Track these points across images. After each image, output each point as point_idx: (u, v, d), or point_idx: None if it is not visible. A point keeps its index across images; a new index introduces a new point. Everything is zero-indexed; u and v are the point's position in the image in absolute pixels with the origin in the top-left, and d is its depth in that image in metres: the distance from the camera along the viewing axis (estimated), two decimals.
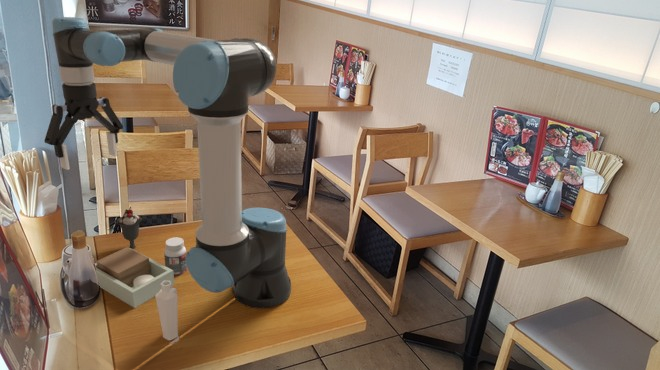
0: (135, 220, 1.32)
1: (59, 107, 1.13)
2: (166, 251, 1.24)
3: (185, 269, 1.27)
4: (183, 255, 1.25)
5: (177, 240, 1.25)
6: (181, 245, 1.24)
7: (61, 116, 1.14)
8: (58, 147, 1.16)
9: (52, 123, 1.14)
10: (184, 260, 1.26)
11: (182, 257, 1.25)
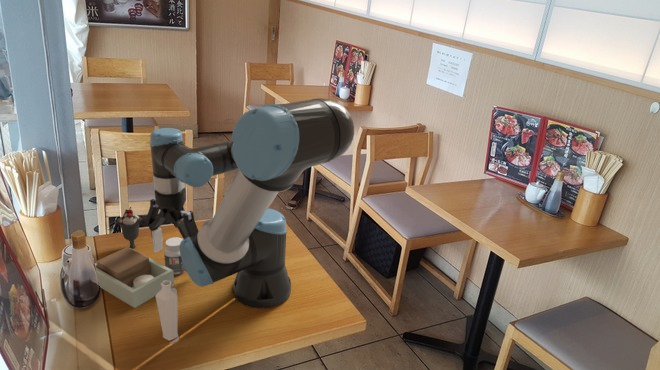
0: (135, 220, 1.32)
1: (151, 200, 1.22)
2: (166, 251, 1.24)
3: (185, 269, 1.27)
4: None
5: (177, 240, 1.25)
6: None
7: (152, 208, 1.23)
8: (151, 230, 1.28)
9: None
10: None
11: None
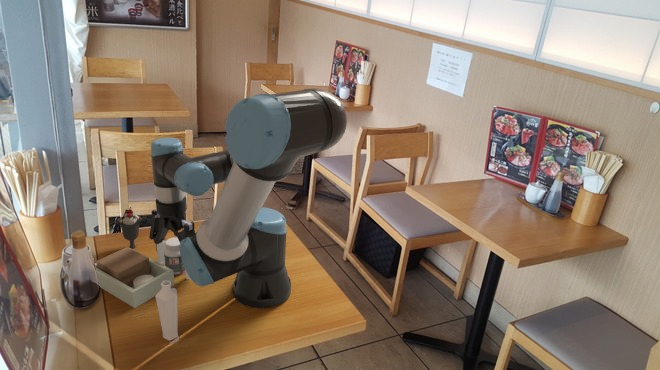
0: (135, 220, 1.32)
1: (152, 211, 1.24)
2: (166, 251, 1.24)
3: None
4: None
5: (177, 240, 1.25)
6: None
7: (154, 219, 1.24)
8: (156, 244, 1.28)
9: None
10: None
11: None
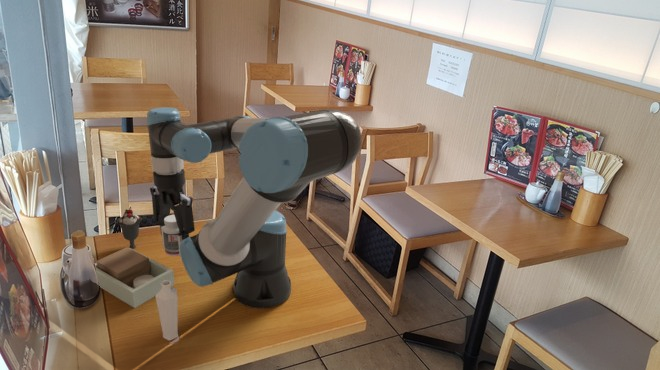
0: (135, 220, 1.32)
1: (150, 189, 1.21)
2: (165, 228, 1.21)
3: None
4: None
5: None
6: None
7: (153, 197, 1.21)
8: (161, 226, 1.24)
9: None
10: None
11: None
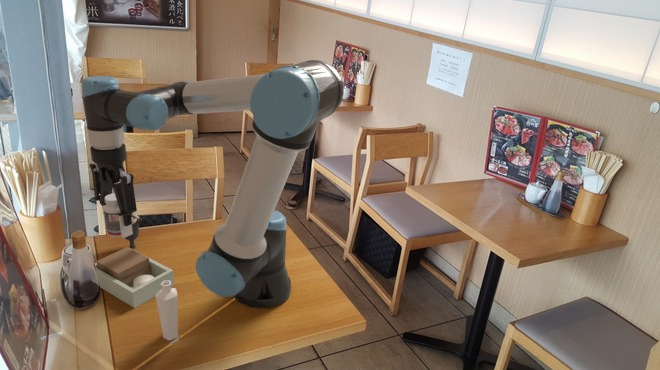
0: (135, 220, 1.32)
1: (90, 165, 1.13)
2: (105, 207, 1.13)
3: None
4: None
5: None
6: None
7: (94, 173, 1.13)
8: (102, 205, 1.16)
9: None
10: None
11: None
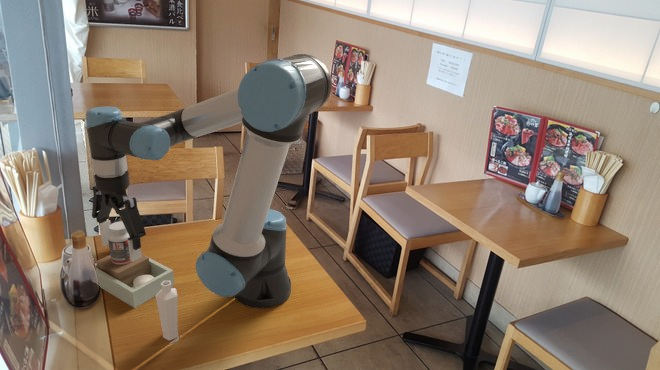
0: None
1: (93, 187, 1.15)
2: (110, 236, 1.16)
3: None
4: None
5: (122, 224, 1.17)
6: (125, 229, 1.16)
7: (95, 196, 1.16)
8: (99, 223, 1.20)
9: None
10: None
11: (126, 242, 1.16)
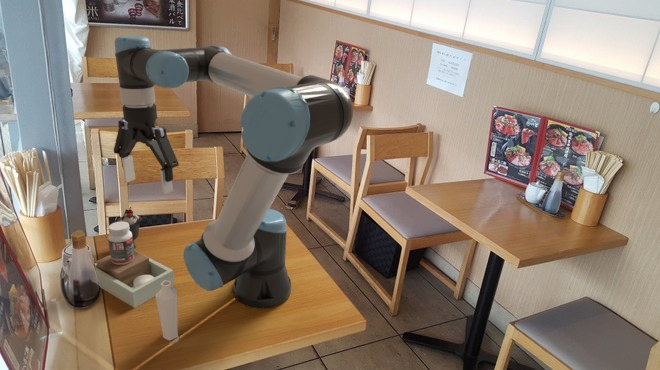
0: (135, 220, 1.32)
1: (119, 121, 1.14)
2: (110, 236, 1.16)
3: (131, 255, 1.19)
4: (128, 240, 1.17)
5: (122, 224, 1.17)
6: (125, 229, 1.16)
7: (120, 130, 1.15)
8: (121, 158, 1.19)
9: None
10: (130, 246, 1.18)
11: (126, 242, 1.16)
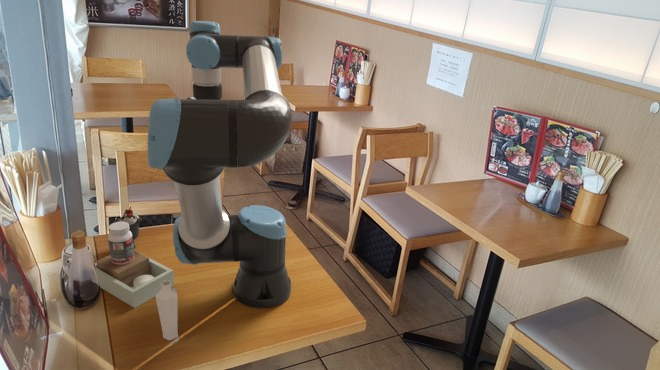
0: (135, 220, 1.32)
1: (188, 98, 1.26)
2: (110, 236, 1.16)
3: (131, 255, 1.19)
4: (128, 240, 1.17)
5: (122, 224, 1.17)
6: (125, 229, 1.16)
7: None
8: None
9: None
10: (130, 246, 1.18)
11: (126, 242, 1.16)
